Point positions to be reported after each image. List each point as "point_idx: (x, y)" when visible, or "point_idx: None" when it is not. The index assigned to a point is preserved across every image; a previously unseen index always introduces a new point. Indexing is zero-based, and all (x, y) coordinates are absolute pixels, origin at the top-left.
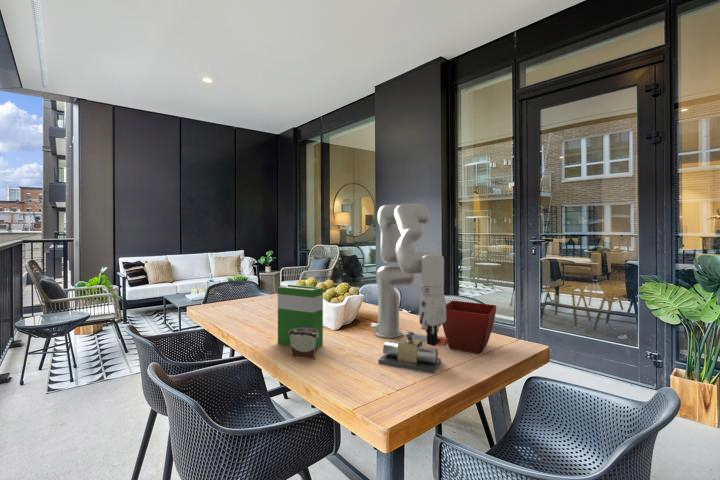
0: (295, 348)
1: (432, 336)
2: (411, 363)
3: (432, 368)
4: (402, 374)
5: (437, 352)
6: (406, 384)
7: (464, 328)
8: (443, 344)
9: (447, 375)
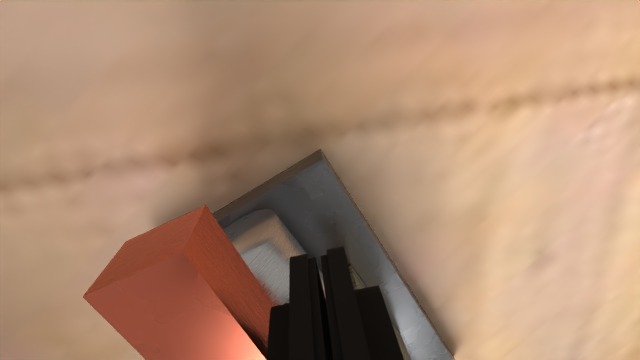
0: None
1: (376, 353)
2: (371, 278)
3: (321, 168)
4: (468, 220)
5: None
6: (558, 113)
7: None
8: (212, 232)
9: (263, 80)
